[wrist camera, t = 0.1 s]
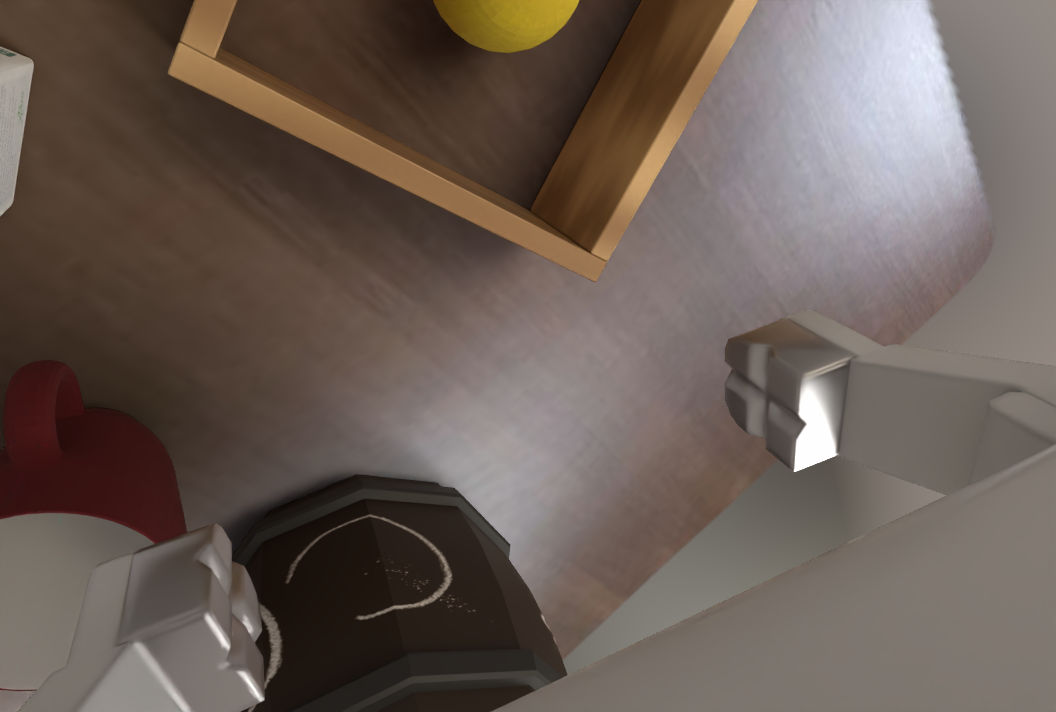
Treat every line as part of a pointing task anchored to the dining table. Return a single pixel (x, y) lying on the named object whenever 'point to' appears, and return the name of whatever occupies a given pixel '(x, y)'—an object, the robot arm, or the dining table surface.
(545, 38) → the lemon
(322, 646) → the wooden barrel
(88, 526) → the mug
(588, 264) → the crate
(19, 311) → the dining table surface
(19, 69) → the syrup box
